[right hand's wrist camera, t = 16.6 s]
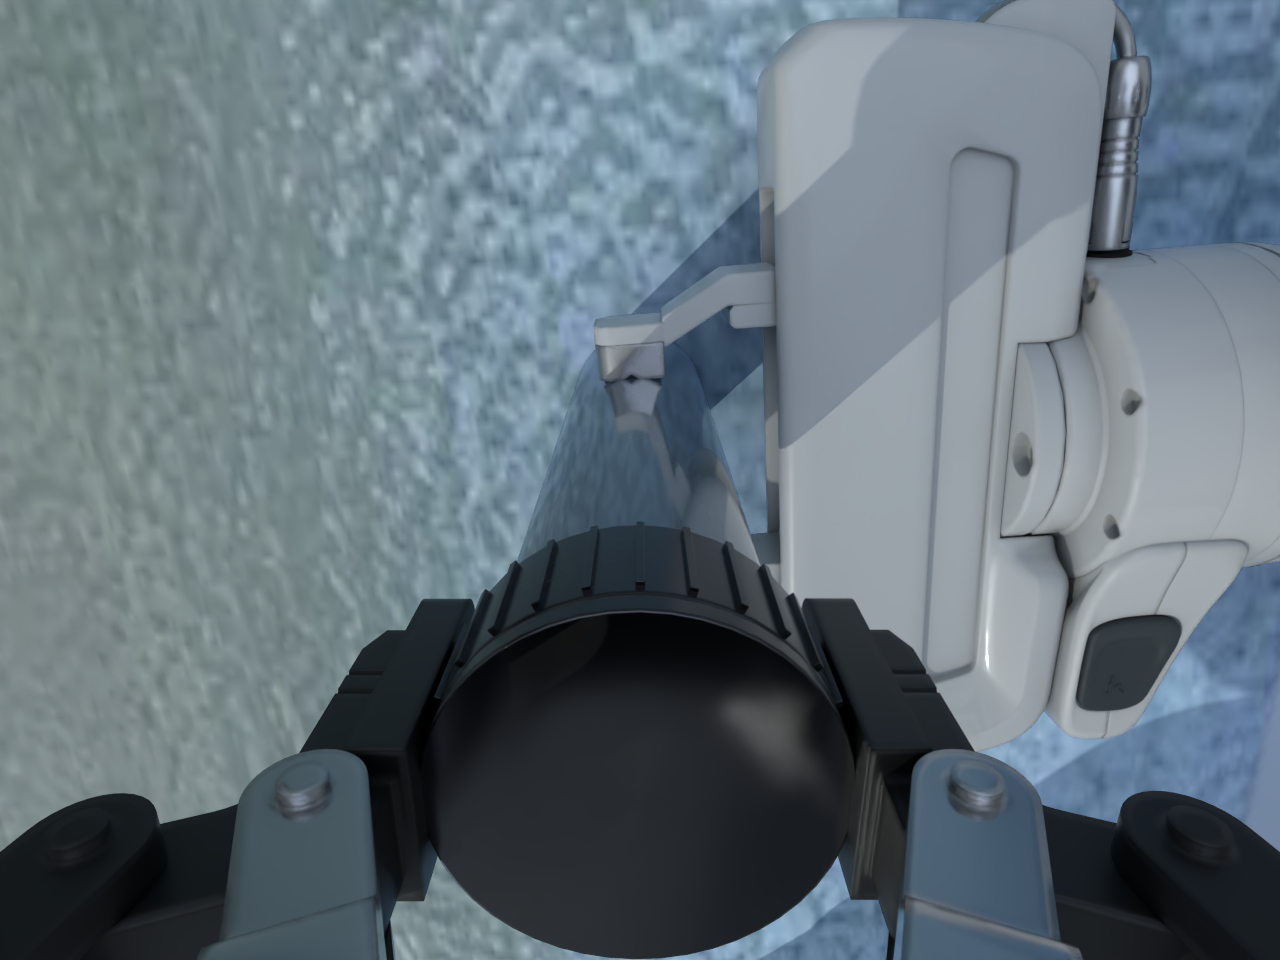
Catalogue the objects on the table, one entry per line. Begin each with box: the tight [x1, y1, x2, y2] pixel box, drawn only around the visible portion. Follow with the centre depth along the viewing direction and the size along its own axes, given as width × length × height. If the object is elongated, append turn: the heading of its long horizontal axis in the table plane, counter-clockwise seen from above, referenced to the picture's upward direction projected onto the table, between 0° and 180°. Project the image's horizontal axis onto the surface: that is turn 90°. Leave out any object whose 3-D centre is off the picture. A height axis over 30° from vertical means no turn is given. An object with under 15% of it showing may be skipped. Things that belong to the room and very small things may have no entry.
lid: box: [420, 521, 855, 959], centre depth 10 cm, size 5×5×2 cm
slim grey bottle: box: [517, 342, 761, 566], centre depth 19 cm, size 4×4×19 cm
